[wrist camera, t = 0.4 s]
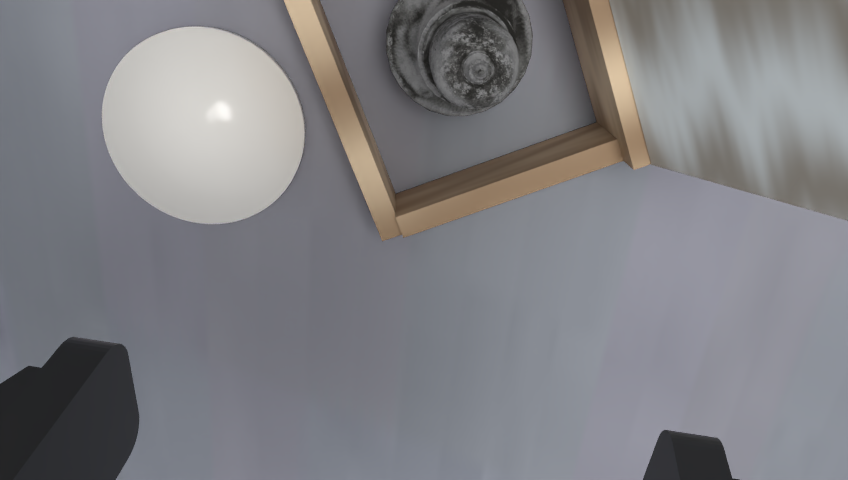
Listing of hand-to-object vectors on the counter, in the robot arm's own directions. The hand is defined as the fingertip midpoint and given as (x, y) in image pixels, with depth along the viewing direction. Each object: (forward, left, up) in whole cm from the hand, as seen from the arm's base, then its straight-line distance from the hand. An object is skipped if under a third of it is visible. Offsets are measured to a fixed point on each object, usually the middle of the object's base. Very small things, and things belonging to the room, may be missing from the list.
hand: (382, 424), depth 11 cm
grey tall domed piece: (-2, +4, -25) cm, 25 cm away
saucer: (-2, -8, -24) cm, 26 cm away
